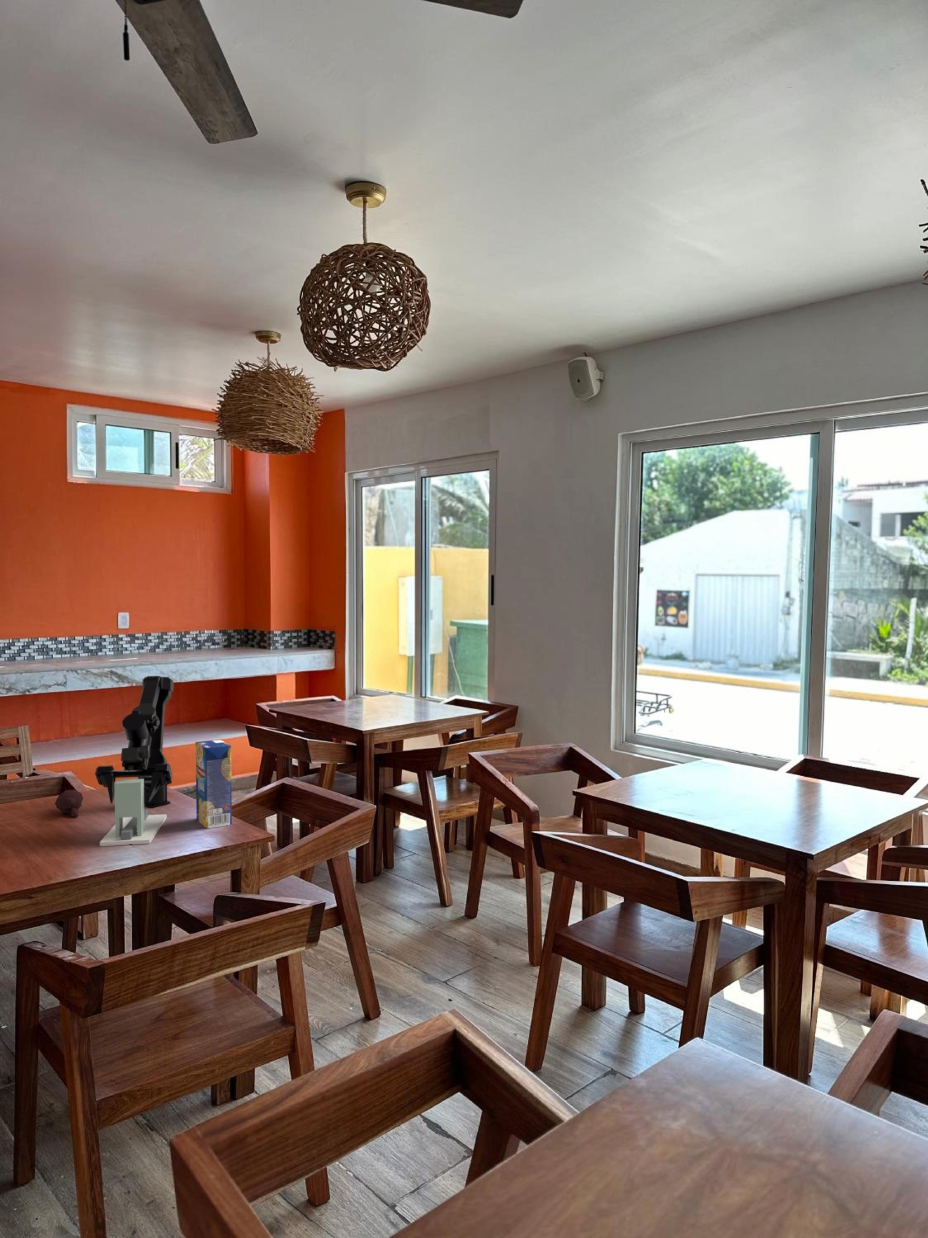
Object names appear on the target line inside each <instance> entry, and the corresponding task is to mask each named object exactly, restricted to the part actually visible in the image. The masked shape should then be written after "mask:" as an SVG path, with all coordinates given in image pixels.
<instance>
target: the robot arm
mask: <svg viewBox="0 0 928 1238" xmlns="http://www.w3.org/2000/svg"><path fill="white" fill-rule="evenodd" d="M141 683H142V686H141V687H142V689H141V690H142V693H141V695H140V699H139V704H138V705H137V706H136V707H135V708H133V709H132V710H131V713H130V714H128V715H126V716H125V717H124V718H123V720H122V723H121V724H122V727H123V731H124V735H125V737H126V740H127V741H128V743H127V747H122V748H121V755H120V761H121V766H122V768H123V769H114V766H113V765H112V764H110V765H98V766H97V767H96V768H95V772H94V775H95V777H96V780H97V783H98V785H100V786H102V787H103V788H107V792H108V798H109V802H110V804H113V803H114V802H115V784H114V783H115V782H116V779H119V778H120V779H124V778H126V779H127V778H131V779H132V778H133V779H144V807H147V808H148V807H149V808H156V807H160V806H164V805H168V804H171V801H170V800H168V785H171V784H173V771H172V766H171V764H170V763H169V762H168V760H167V758H166V756H165V754H164V753H163V748H164V746H163V744H164V731H165V730H164V729H165V714H166V706H167V704H168V703H169V701H170V700H171V698H172V692H174V689H175V683H174V680H173V679H172V678H170V676H160V675H147V676H144V678H142V682H141Z"/></svg>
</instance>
